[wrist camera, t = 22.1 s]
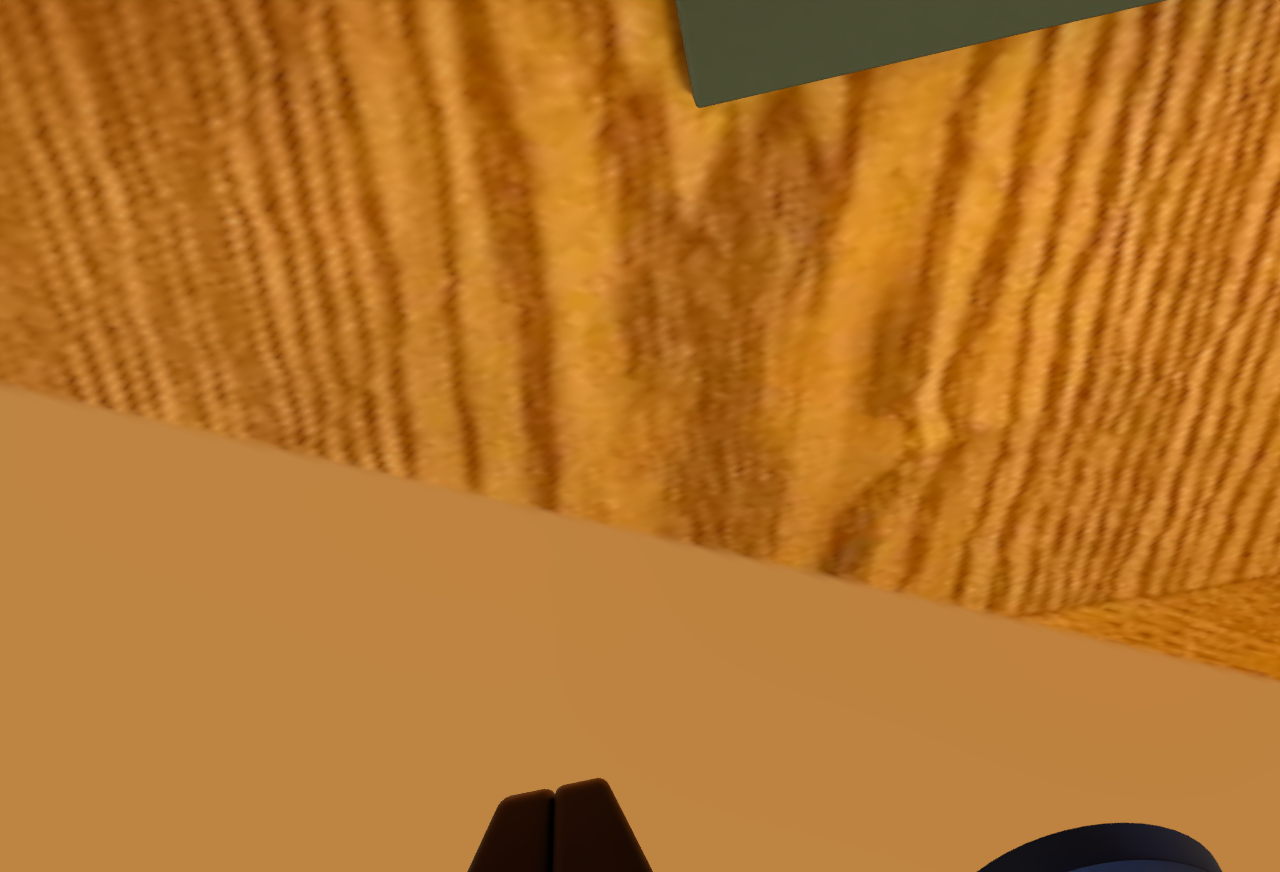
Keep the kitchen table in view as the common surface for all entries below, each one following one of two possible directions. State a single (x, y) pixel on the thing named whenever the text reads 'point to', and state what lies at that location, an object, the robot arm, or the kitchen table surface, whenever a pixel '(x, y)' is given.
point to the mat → (846, 36)
